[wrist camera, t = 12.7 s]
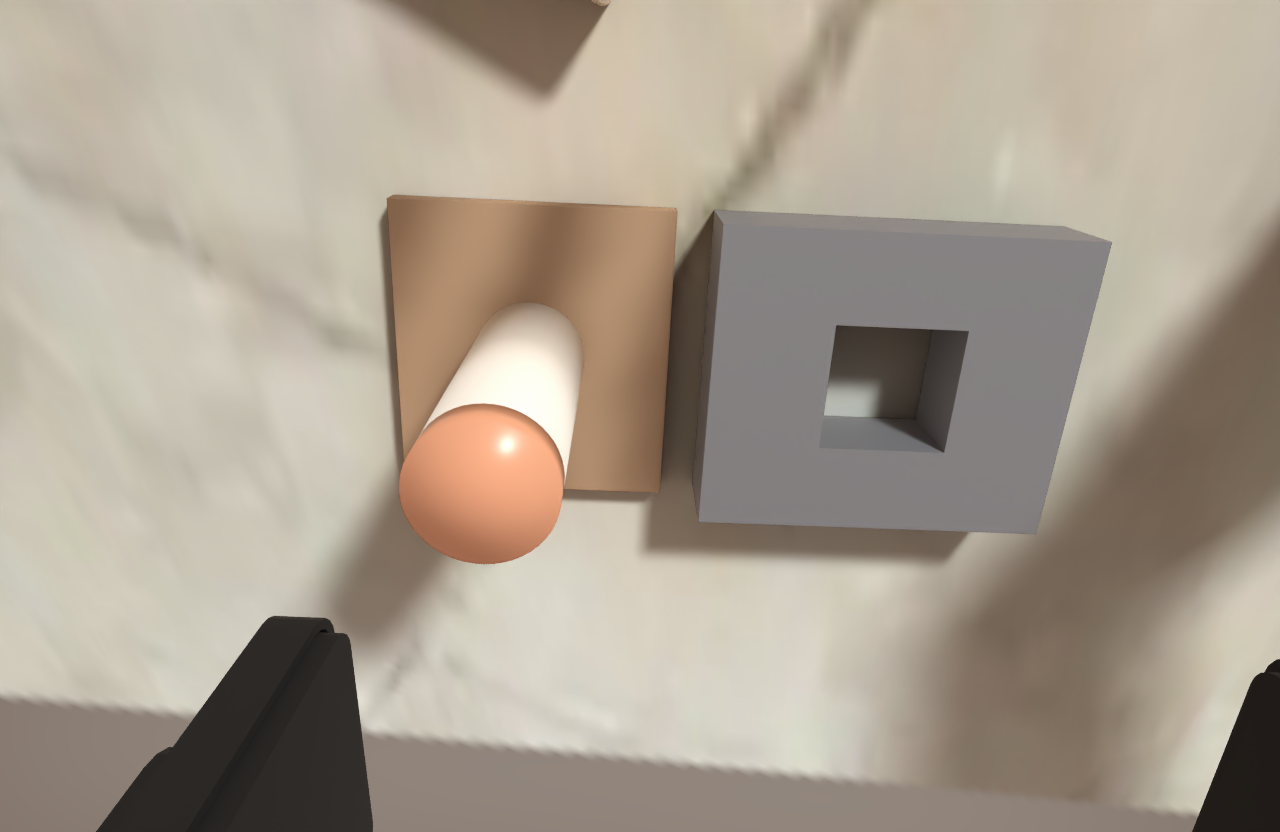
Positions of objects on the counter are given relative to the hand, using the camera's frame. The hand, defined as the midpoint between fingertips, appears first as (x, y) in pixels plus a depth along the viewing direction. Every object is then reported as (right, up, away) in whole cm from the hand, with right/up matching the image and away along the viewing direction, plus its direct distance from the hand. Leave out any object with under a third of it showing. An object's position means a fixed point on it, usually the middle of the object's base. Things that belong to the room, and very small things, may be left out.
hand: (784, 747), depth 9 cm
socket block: (+8, +6, +26) cm, 28 cm away
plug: (-6, +6, +25) cm, 26 cm away
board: (-6, +6, +26) cm, 27 cm away
